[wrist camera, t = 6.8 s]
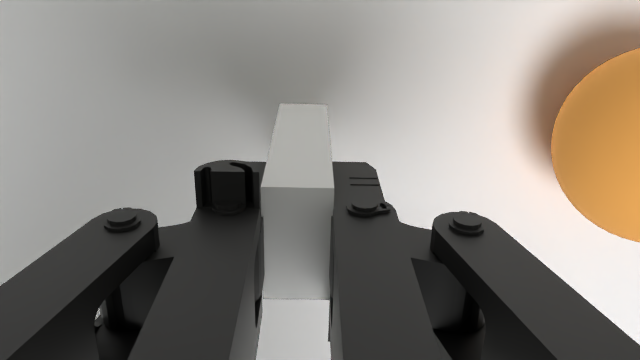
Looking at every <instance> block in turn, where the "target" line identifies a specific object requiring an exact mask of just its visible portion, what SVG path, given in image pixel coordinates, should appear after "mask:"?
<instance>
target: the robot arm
mask: <svg viewBox="0 0 640 360" xmlns="http://www.w3.org/2000/svg"><path fill="white" fill-rule="evenodd" d="M194 177H195V191H196V204H197V208H196V210H195V212H194V215H193V217H192V219H191V221H190V222H187V223H184V224H179V225H174V226H167V227H160V228H158V223H157V217H156V215H155V214H153V213H152V212H150V211H147V210H143V209H132V208H123V209H121V208H119V209H114V210H112V211H110V212H107V213H104V214H101V215H99V216H97V217H96V218H94V219H92V220H91V221H89V222H88V223H87V224H85V225H84V226H82V227H81V228H80V229H78V230H77V231H76V232H74V233H73V234H71V235H70V236H69V237H67V238H66V239H65V240H63V241H62V242H60V243H59V244H58V245H56V246H55V247H53V248H52V249H51V250H49V251H48V252H47V253H45V254H44V255H42V256H41V257H40V258H38V259H37V260H36V261H34V262H33V263H31V264H30V265H29V266H27V267H26V268H25V269H23V270H22V271H20V272H19V273H18V274H16V275H15V276H14V277H12V278H11V279H9V280H8V281H7V282H5V283H4V284H3V285H1V286H0V360H256V353H257V346H258V339H259V332H260V325H261V318H262V288H263V299H320V300H330V306H329V333H328V341H330V346H331V360H640V345H639V344H638V343H636V342H635V341H634V340H633V339H632V338H630V337H629V336H628V335H627V334H626V333H625V332H623V331H622V330H621V329H620V328H619V327H617V326H616V325H615V324H614V323H613V322H612V321H610V320H609V319H608V318H607V317H606V316H605V315H603V314H602V313H601V312H600V311H599V310H597V309H596V308H595V307H594V306H593V305H592V304H590V303H589V302H588V301H587V300H586V299H584V298H583V297H582V296H581V295H580V294H579V293H577V292H576V291H575V290H574V289H573V288H571V287H570V286H569V285H568V284H567V283H566V282H564V281H563V280H562V279H561V278H560V277H559V276H557V275H556V274H555V273H554V272H553V271H551V270H550V269H549V268H548V267H547V266H546V265H544V264H543V263H542V262H541V261H540V260H538V259H537V258H536V257H535V256H534V255H533V254H531V253H530V252H529V251H528V250H527V249H525V248H524V247H523V246H522V245H521V244H520V243H518V242H517V241H516V240H515V239H514V238H513V237H511V236H510V235H509V234H508V233H507V232H505V231H504V230H503V229H502V228H501V227H500V226H498V225H497V224H496V223H494V222H493V221H491V220H489V219H488V218H485V217H482V216H479V215H478V214H476V213H472V212H469V213H468V212H465V211H460V212H449V213H445V214H441V215H439V216H438V217H436V218H435V219H434V222H433V226H432V230H429V229H424V228H418V227H414V226H410V225H407V224H404V223H401V222H399V220H398V216H397V213H396V210H395V209H394V208H393V206H392V205H391V204H389V203H387V202H385V200H384V197H383V193H382V190H381V186H380V183H379V179H378V176H377V172H376V169H374V168H373V167H372V166H370V165H369V164H368V163H366V162H332V155H331V144H330V132H329V120H328V109H327V104H285V103H280V105H279V109H278V114H277V118H276V122H275V127H274V131H273V135H272V140H271V144H270V149H269V153H268V157H267V162H244V161H236V160H222V161H215V162H210V163H206V164H204V165H201V166H199V167H198V168H197V169H196V170H195V171H194ZM98 308H100V314H101V315H100V316H99V317H98V318H97V319H96V320H95V317H96V314H97V311H98Z"/></svg>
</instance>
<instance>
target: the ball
mask: <svg viewBox="0 0 640 360" xmlns="http://www.w3.org/2000/svg"><path fill="white" fill-rule="evenodd" d="M551 156H552V163H553V168H554V171H555V174H556V178H557V180H558V182H559V184H560V186H561V189H562V190H563V192H564V193H565V195H566V197H567V198H568V200H569V201H570V202H571V203H572V204H573V206H574V207H575V208H576V209H577V210H578V211H579V212H580V213H581V214H582V215H583V216H585V217H586V218H587V219H588V220H590V221H591V222H592V223H594V224H595V225H597V226H598V227H600V228H602V229H604V230H606V231H608V232H609V233H612V234H614V235H617V236H619V237H622V238H625V239H629V240H632V241H636V242H640V48H638V49H634V50H631V51H629V52H626V53H623V54H620V55H618V56H616V57H614V58H612V59H610V60H608V61H606V62H605V63H603V64H601V65H600V66H598V67H597V68H595V69H594V70H593V71H591V72H590V73H589V74H588V75H586V76H585V77H584V78H583V79H582V80H581V81H580V82H579V83H578V84H577V85H576V86H575V87H574V89H573V90H572V91H571V93H570V94H569V95H568V96H567V98H566V100H565V101H564V103H563V105H562V107H561V108H560V111H559V113H558V115H557V118H556V120H555V124H554V128H553V133H552V139H551Z"/></svg>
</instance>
